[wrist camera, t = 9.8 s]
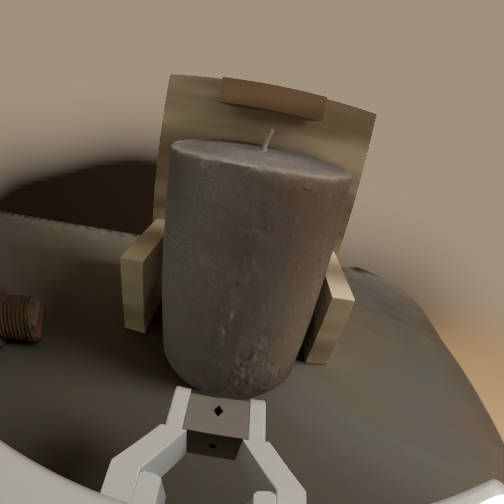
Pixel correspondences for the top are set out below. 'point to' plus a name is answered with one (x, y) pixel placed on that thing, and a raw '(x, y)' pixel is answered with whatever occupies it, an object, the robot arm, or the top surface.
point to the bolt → (21, 317)
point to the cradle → (255, 131)
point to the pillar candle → (244, 259)
